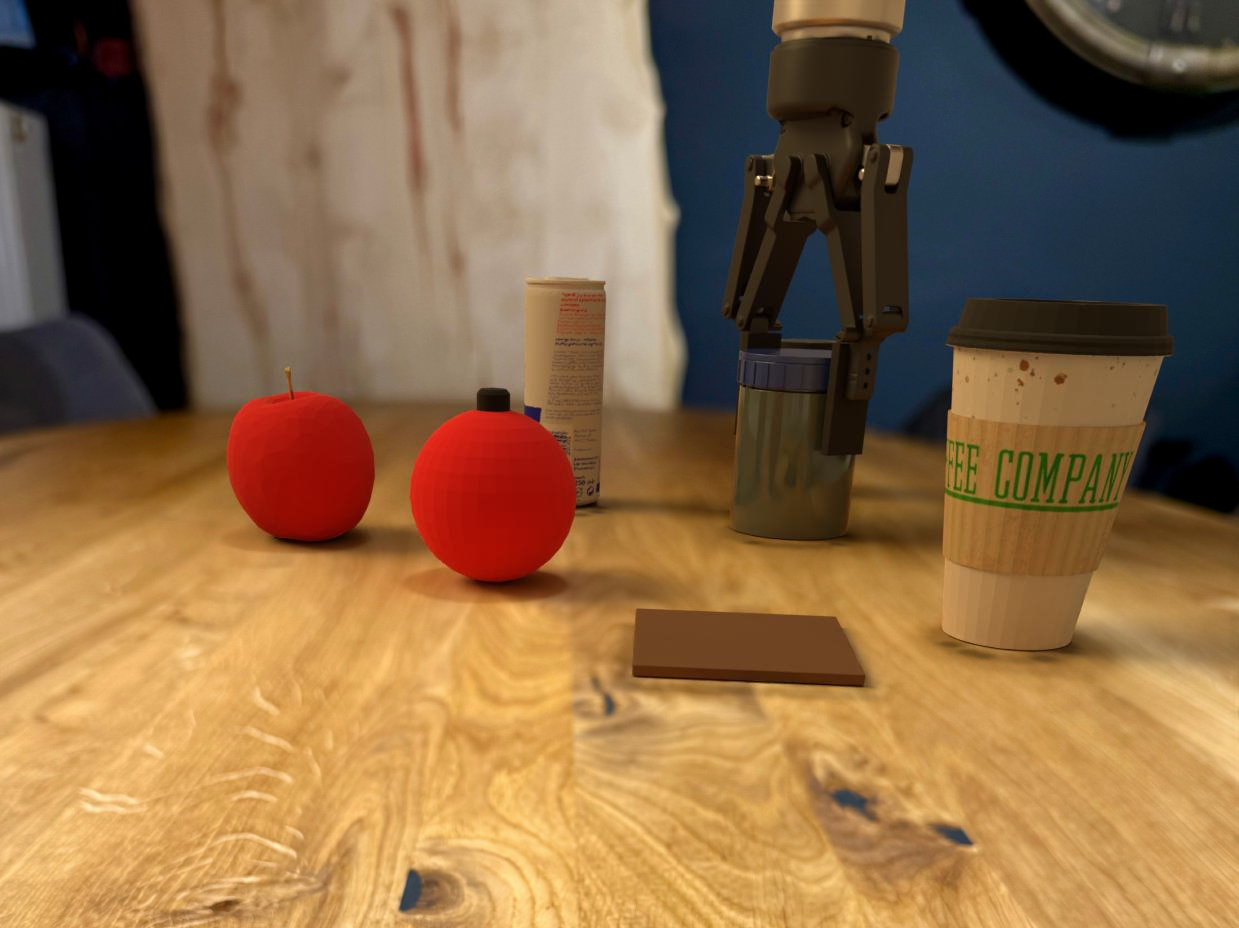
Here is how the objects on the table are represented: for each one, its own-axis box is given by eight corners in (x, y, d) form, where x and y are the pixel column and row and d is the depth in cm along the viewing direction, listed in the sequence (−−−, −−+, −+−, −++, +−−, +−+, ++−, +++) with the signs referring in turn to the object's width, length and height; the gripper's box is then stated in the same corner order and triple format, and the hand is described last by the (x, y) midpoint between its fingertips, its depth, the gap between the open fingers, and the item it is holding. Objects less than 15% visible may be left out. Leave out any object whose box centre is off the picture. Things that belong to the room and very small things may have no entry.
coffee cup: (874, 636, 62) (920, 297, 55) (942, 599, 69) (990, 296, 63) (1081, 673, 57) (1158, 307, 50) (1131, 629, 64) (1203, 305, 58)
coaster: (835, 625, 63) (836, 616, 63) (864, 686, 55) (865, 674, 54) (635, 617, 64) (636, 607, 64) (631, 675, 55) (632, 664, 55)
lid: (858, 380, 86) (861, 350, 85) (877, 392, 79) (881, 359, 78) (733, 376, 87) (735, 346, 86) (740, 387, 79) (742, 354, 78)
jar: (838, 519, 90) (857, 358, 85) (854, 541, 83) (875, 367, 78) (726, 515, 91) (738, 354, 86) (732, 537, 83) (746, 363, 79)
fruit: (206, 531, 80) (189, 361, 76) (329, 517, 86) (320, 357, 81) (280, 557, 74) (266, 373, 70) (408, 540, 80) (403, 368, 75)
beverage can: (611, 499, 95) (619, 278, 88) (580, 511, 90) (586, 278, 84) (544, 492, 97) (547, 275, 90) (510, 503, 92) (511, 275, 86)
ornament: (603, 591, 69) (610, 394, 64) (448, 605, 65) (445, 397, 61) (532, 557, 76) (534, 378, 71) (389, 569, 72) (382, 380, 68)
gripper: (1019, 24, 67) (951, 465, 77) (780, 67, 85) (750, 422, 95) (908, 8, 64) (852, 470, 74) (684, 56, 82) (663, 425, 92)
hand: (795, 443), depth 84 cm, fingers open, 9 cm apart
